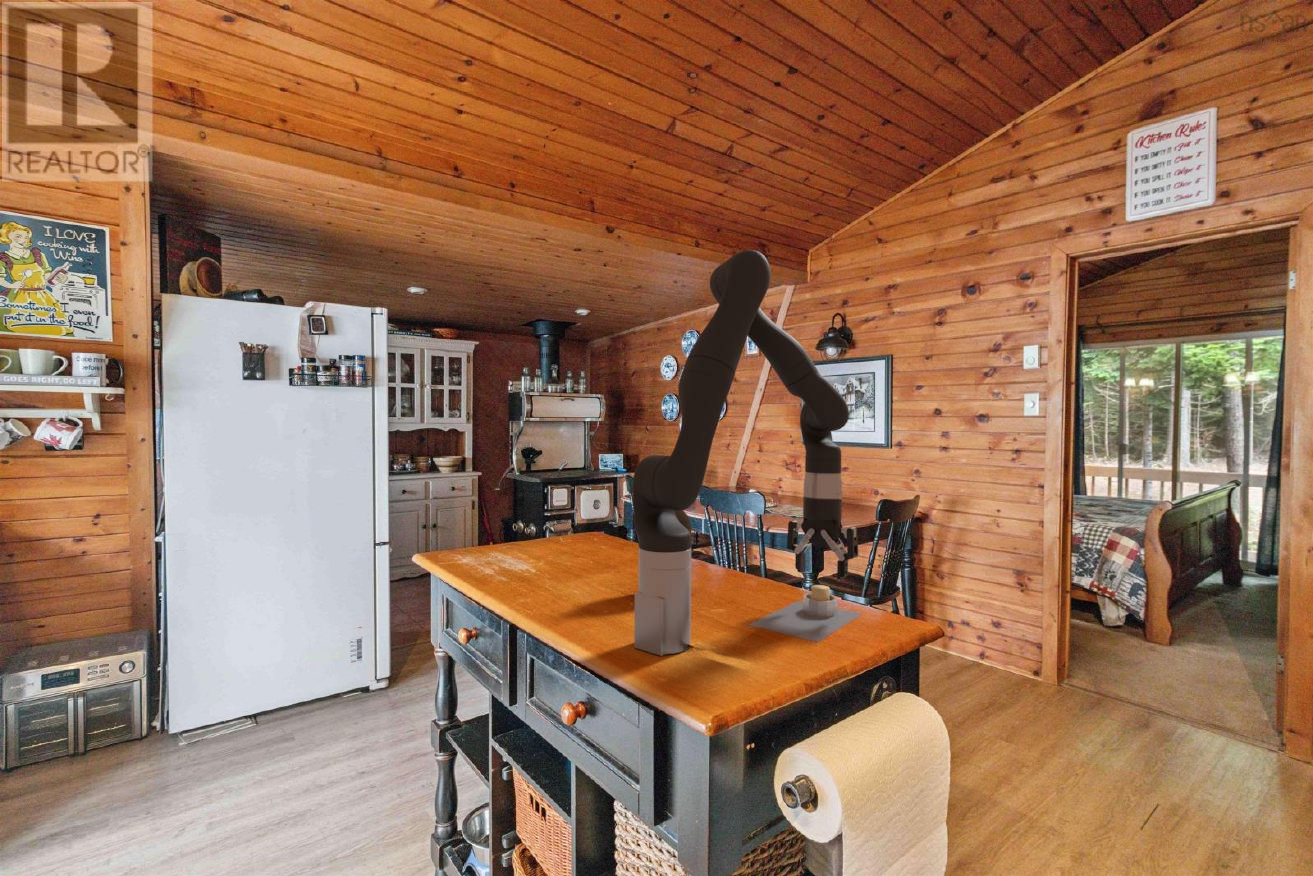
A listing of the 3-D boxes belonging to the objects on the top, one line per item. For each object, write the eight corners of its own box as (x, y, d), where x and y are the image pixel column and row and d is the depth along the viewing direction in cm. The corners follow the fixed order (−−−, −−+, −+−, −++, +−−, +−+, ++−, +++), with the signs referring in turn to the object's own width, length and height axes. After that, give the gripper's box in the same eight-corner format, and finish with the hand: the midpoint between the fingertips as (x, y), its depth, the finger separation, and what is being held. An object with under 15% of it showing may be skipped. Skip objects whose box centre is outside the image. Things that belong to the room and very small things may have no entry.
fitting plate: (817, 647, 105) (817, 613, 105) (747, 630, 114) (748, 598, 114) (862, 618, 122) (862, 588, 121) (798, 605, 130) (798, 577, 130)
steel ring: (828, 619, 118) (829, 603, 118) (797, 612, 122) (797, 597, 122) (842, 611, 123) (842, 596, 123) (812, 605, 127) (812, 590, 127)
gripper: (781, 493, 124) (780, 572, 124) (849, 499, 114) (847, 585, 114) (798, 491, 129) (797, 567, 129) (864, 496, 120) (862, 578, 120)
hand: (820, 575), depth 122 cm, fingers open, 8 cm apart
